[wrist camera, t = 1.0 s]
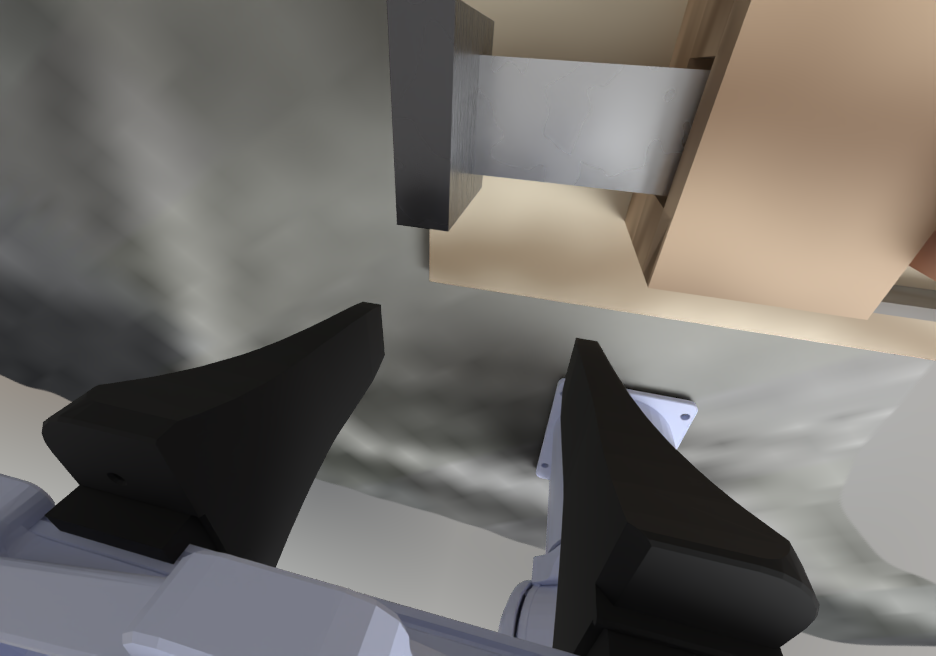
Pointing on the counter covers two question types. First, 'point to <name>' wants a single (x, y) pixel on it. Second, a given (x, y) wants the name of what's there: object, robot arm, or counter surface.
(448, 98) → the shaft
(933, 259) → the block
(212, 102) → the counter surface
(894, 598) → the counter surface
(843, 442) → the counter surface
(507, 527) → the counter surface
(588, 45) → the stand
